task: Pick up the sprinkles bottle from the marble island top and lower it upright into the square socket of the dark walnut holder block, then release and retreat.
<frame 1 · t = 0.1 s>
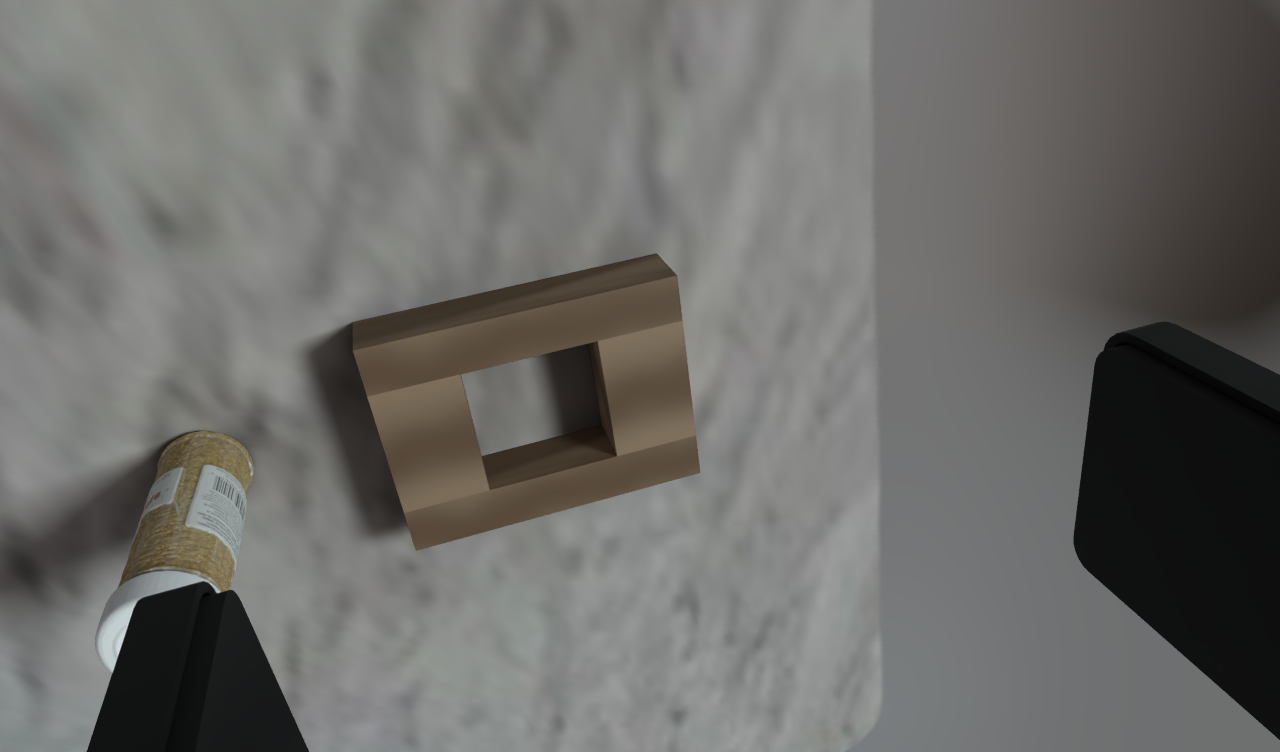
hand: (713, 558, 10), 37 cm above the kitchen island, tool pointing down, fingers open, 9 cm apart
sprinkles bottle: (208, 464, 47), on the kitchen island
walnut holder: (531, 387, 49), on the kitchen island
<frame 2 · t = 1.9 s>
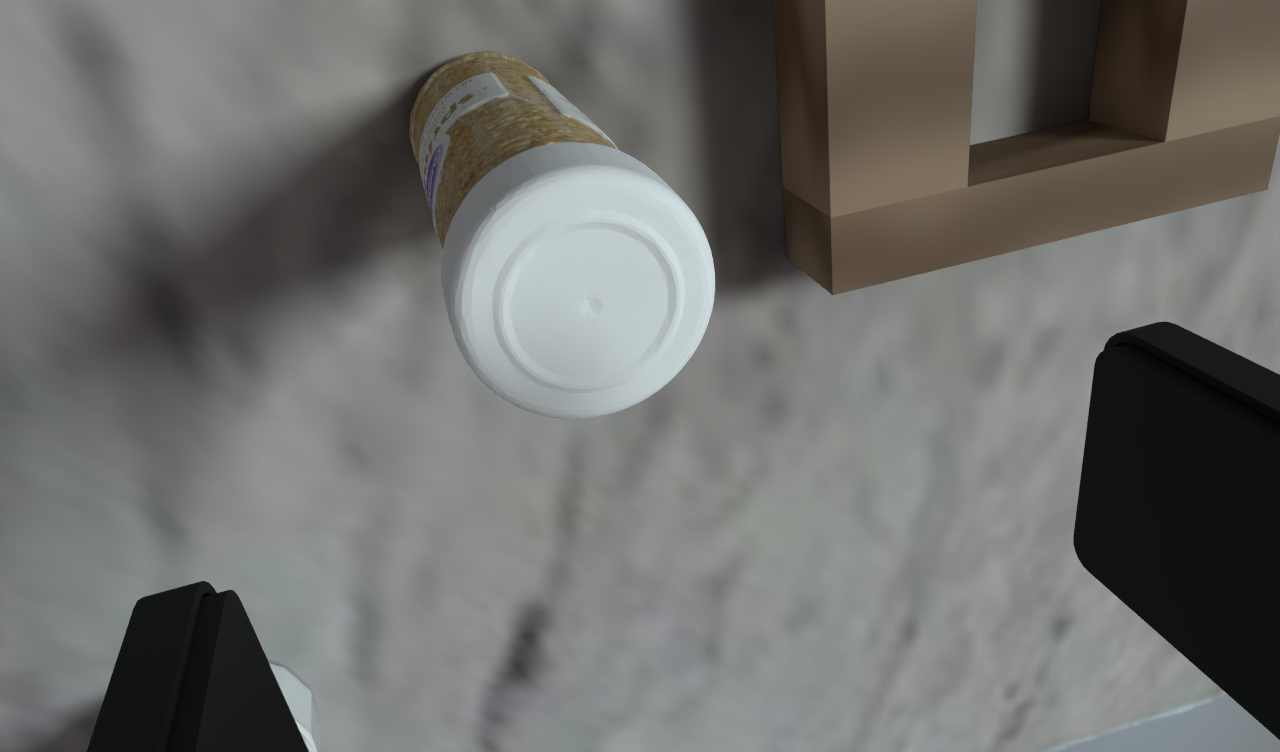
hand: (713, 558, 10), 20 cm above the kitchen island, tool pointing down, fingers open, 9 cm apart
sprinkles bottle: (488, 131, 26), on the kitchen island
white cup: (221, 718, 33), on the kitchen island
walnut holder: (1006, 31, 29), on the kitchen island
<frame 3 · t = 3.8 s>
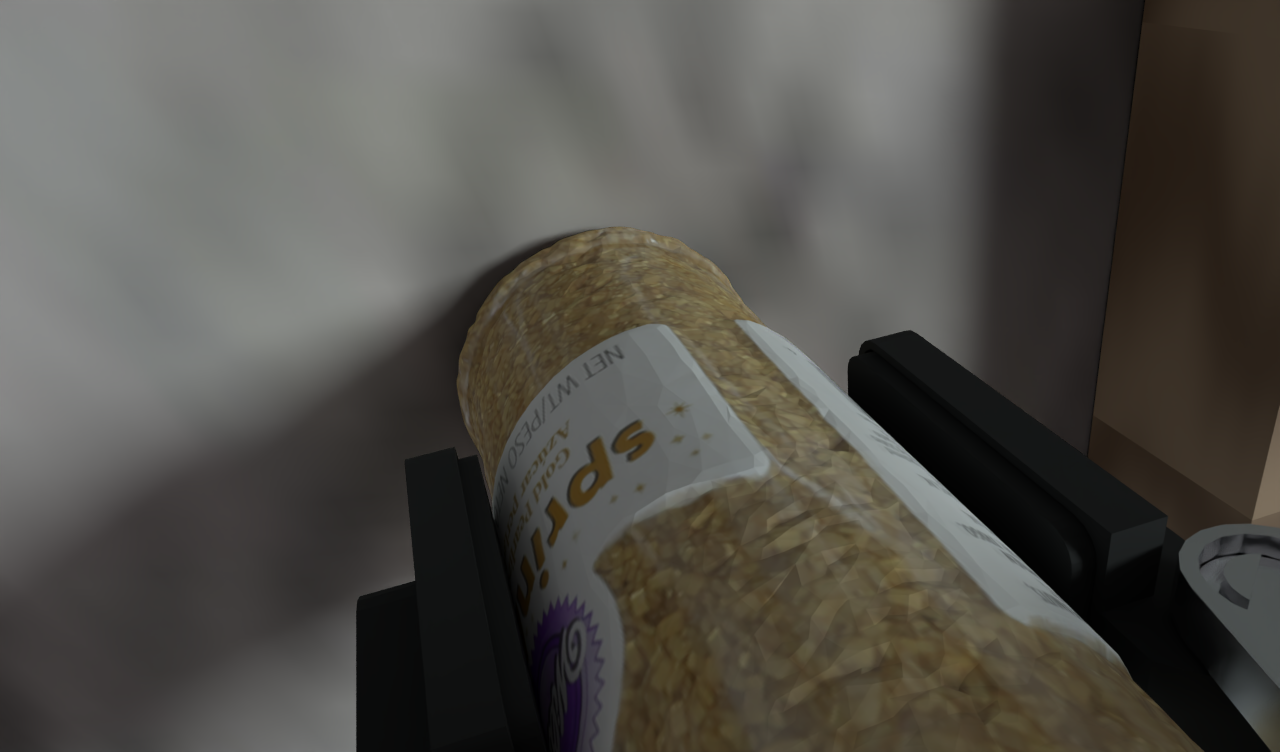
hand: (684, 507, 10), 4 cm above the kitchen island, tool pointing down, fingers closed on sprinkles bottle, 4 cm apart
sprinkles bottle: (602, 361, 14), on the kitchen island, touching gripper
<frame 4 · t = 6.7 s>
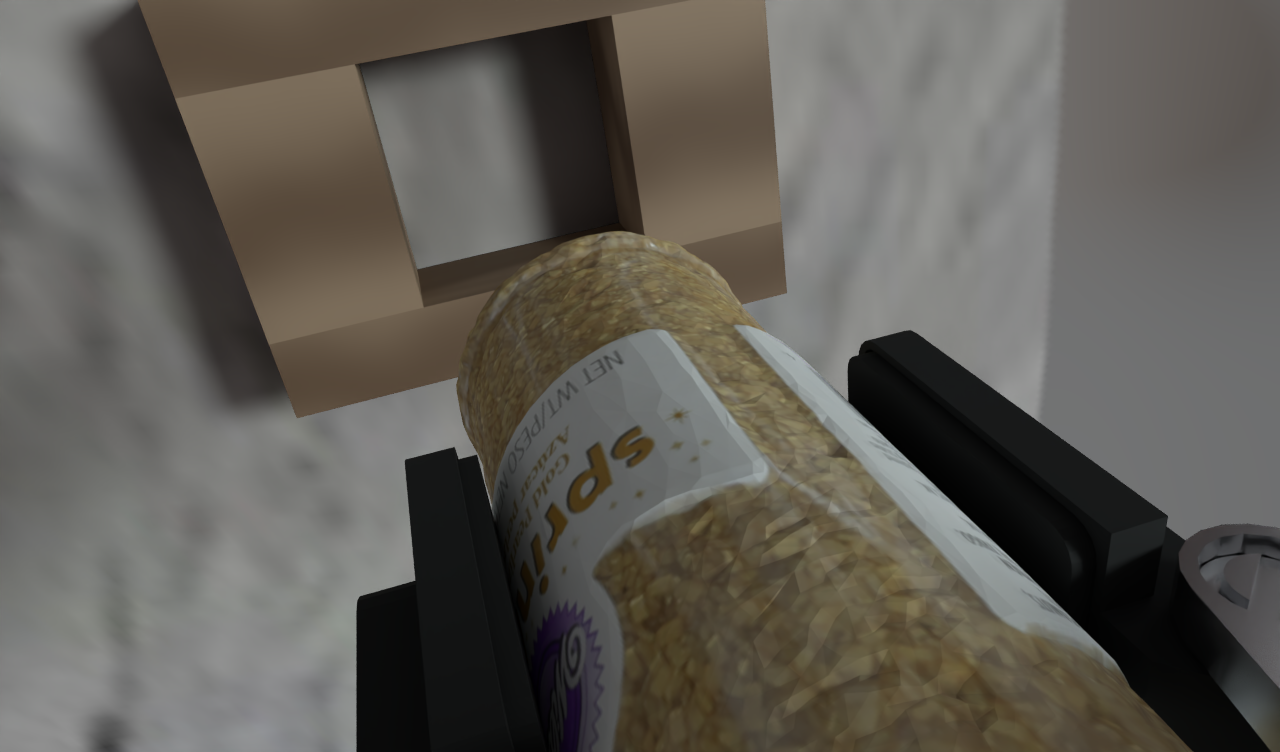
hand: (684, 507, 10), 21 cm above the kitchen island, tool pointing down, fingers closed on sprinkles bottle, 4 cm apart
sprinkles bottle: (602, 364, 14), point 17 cm above the kitchen island, touching gripper
walnut holder: (497, 142, 29), on the kitchen island
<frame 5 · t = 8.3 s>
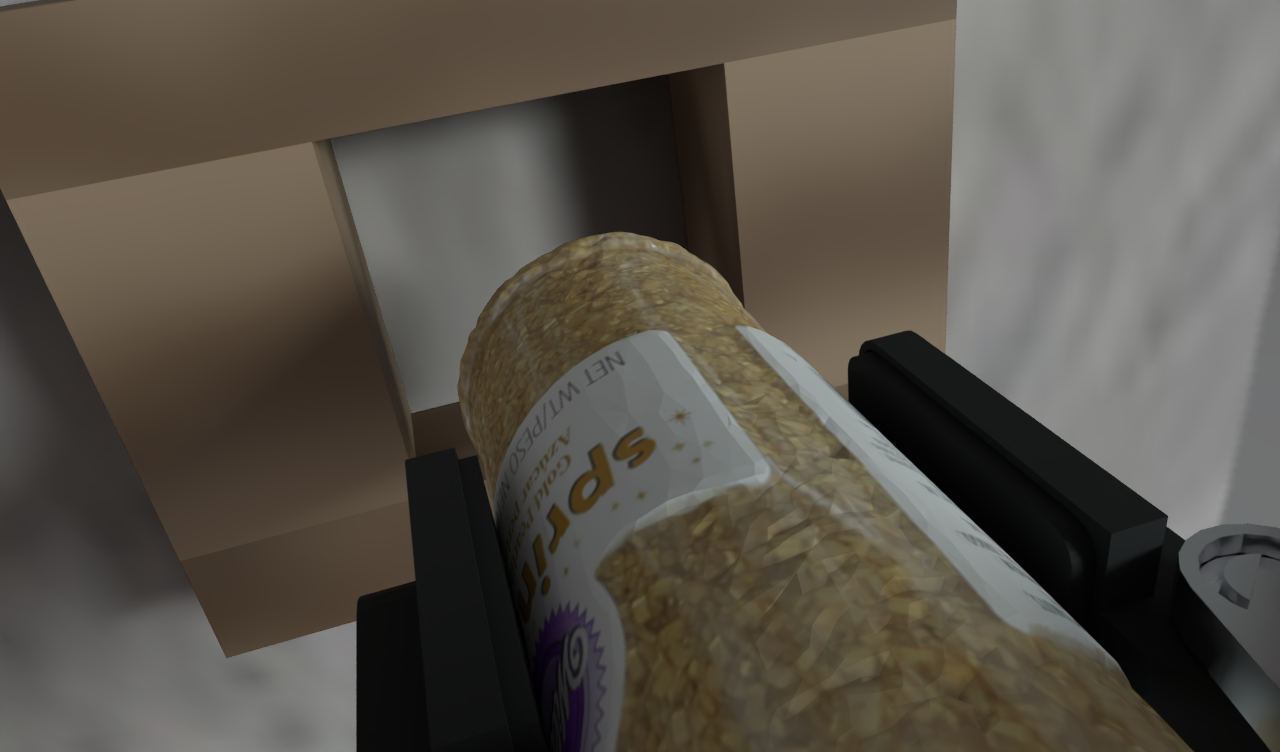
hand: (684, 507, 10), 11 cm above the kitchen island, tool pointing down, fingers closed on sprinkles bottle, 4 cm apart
sprinkles bottle: (603, 365, 14), point 7 cm above the kitchen island, touching gripper
walnut holder: (531, 237, 20), on the kitchen island
when the fingers open (5 cm above the kitchen island, at t = 9.7 s): sprinkles bottle drops 1 cm, resting in walnut holder.
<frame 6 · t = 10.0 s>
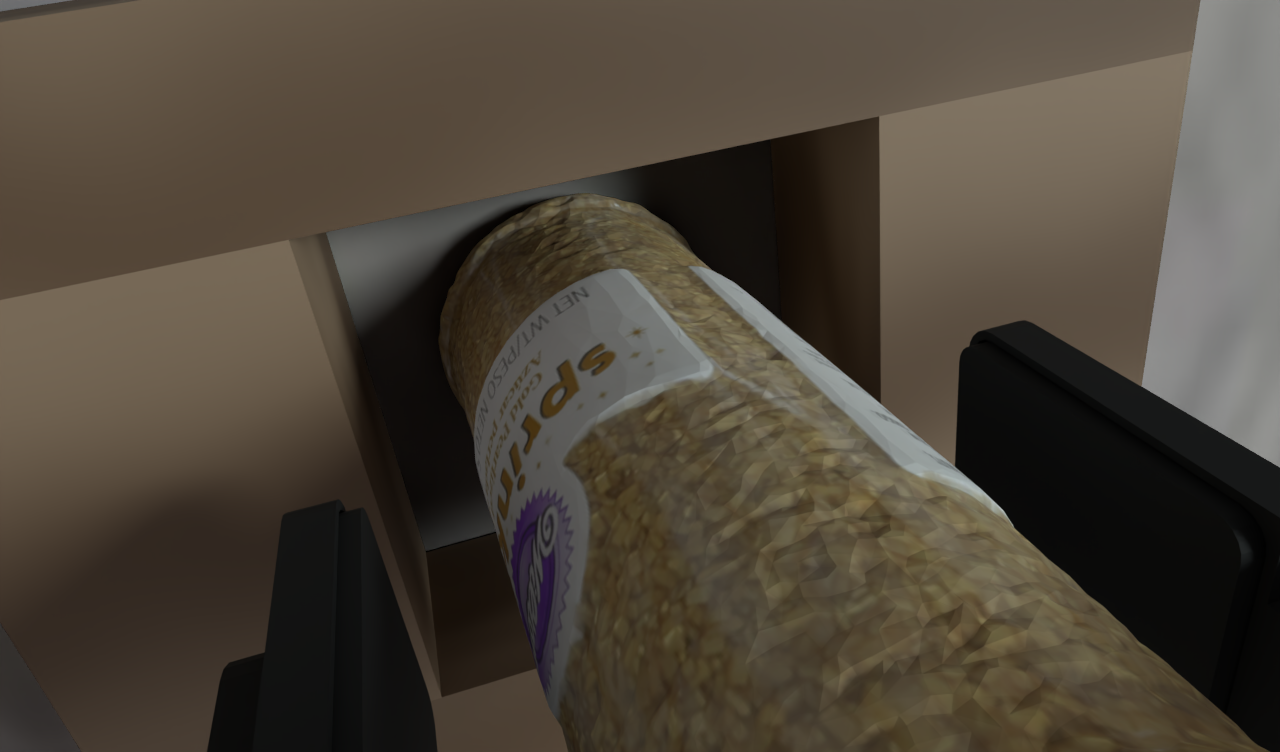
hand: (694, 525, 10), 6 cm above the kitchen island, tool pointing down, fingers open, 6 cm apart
sprinkles bottle: (573, 321, 15), resting in walnut holder
walnut holder: (584, 330, 15), on the kitchen island
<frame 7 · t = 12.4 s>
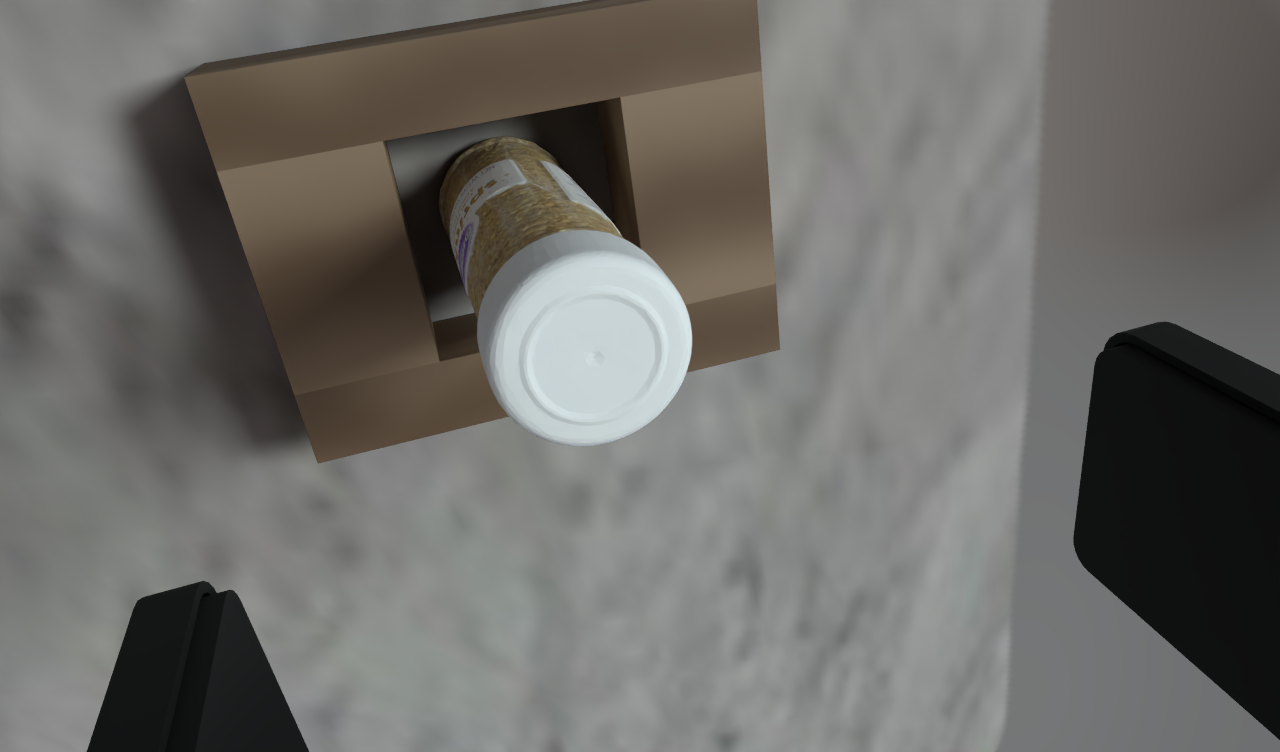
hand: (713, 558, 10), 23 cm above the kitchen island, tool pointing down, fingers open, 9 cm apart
sprinkles bottle: (505, 201, 31), resting in walnut holder
walnut holder: (510, 206, 31), on the kitchen island
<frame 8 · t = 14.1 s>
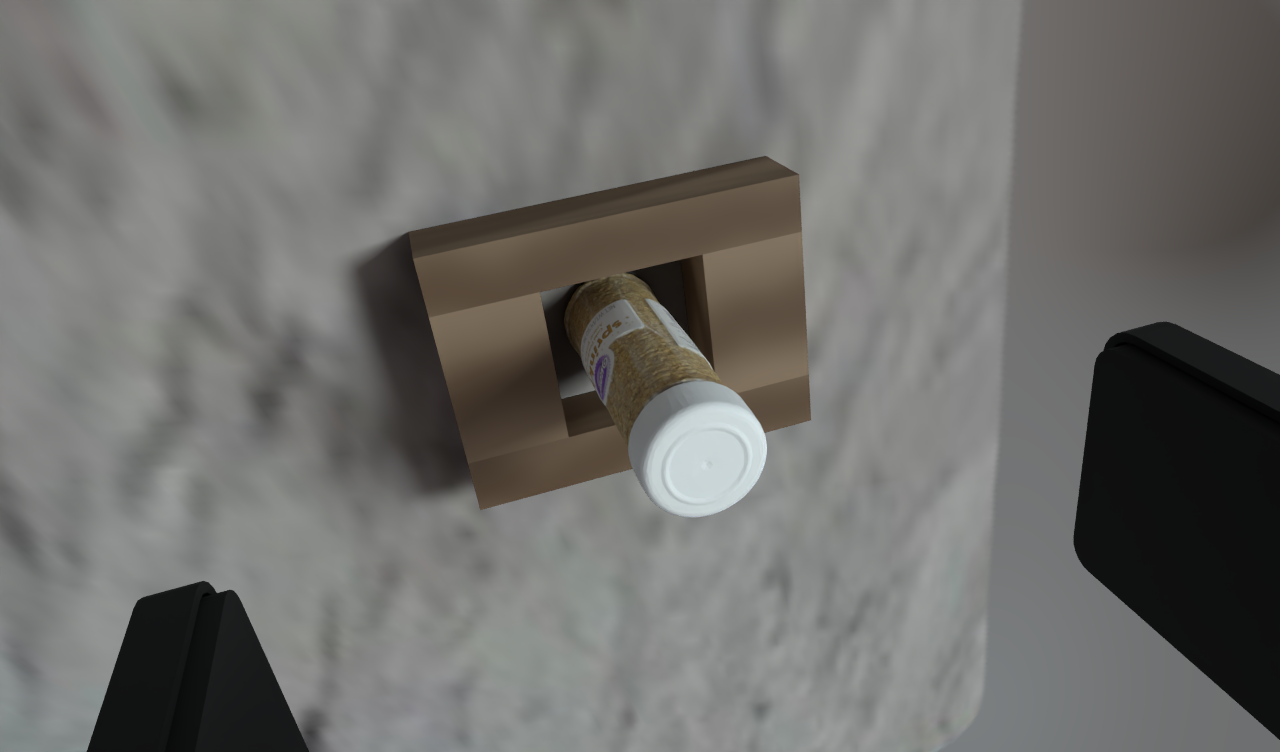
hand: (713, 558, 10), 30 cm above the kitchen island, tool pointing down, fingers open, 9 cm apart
sprinkles bottle: (609, 314, 42), resting in walnut holder
walnut holder: (613, 317, 42), on the kitchen island
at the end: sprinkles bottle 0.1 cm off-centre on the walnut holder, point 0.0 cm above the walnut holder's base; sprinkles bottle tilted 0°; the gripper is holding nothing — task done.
